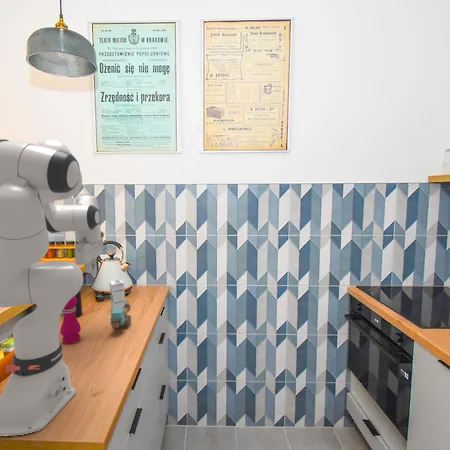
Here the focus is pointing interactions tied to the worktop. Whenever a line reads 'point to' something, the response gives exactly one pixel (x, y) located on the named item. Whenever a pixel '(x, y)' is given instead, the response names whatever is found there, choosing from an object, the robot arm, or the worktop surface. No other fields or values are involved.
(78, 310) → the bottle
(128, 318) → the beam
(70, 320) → the pepper mill
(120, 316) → the rider
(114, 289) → the syrup box
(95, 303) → the worktop surface
